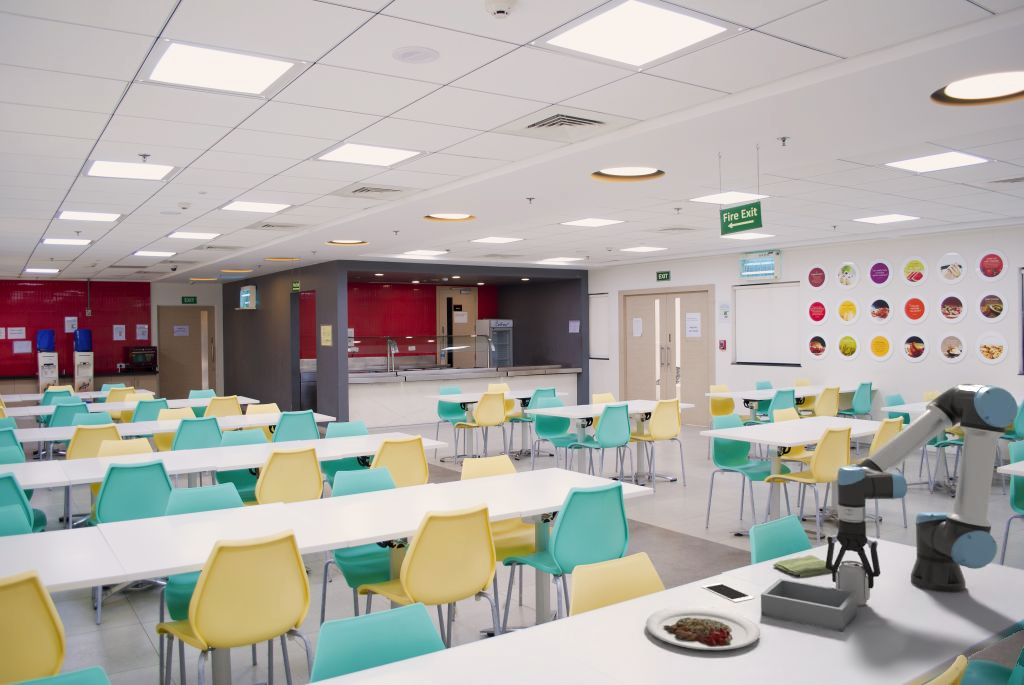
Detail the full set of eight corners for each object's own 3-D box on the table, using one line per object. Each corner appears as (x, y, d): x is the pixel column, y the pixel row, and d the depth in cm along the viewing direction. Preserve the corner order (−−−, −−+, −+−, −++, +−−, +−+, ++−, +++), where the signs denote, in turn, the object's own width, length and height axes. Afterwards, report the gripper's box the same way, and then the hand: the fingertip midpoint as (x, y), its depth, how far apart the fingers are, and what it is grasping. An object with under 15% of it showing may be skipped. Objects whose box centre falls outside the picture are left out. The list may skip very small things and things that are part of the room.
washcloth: (771, 568, 259) (770, 559, 259) (812, 562, 265) (811, 553, 265) (797, 579, 246) (797, 569, 246) (839, 573, 252) (839, 563, 252)
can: (869, 608, 219) (869, 567, 219) (842, 606, 220) (841, 566, 220) (863, 599, 226) (862, 559, 226) (836, 598, 227) (836, 558, 227)
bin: (857, 613, 215) (857, 592, 215) (842, 632, 201) (842, 610, 201) (780, 598, 228) (779, 578, 228) (761, 615, 215) (760, 594, 215)
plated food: (684, 605, 224) (684, 593, 224) (780, 631, 203) (780, 619, 203) (624, 633, 203) (623, 621, 203) (723, 666, 182) (723, 653, 182)
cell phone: (735, 603, 225) (735, 601, 225) (700, 588, 240) (700, 586, 240) (755, 599, 228) (755, 597, 228) (720, 584, 243) (720, 582, 243)
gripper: (812, 517, 226) (813, 592, 226) (886, 526, 214) (887, 606, 214) (819, 512, 232) (820, 586, 232) (891, 521, 220) (893, 598, 220)
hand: (852, 595), depth 223 cm, fingers closed on can, 7 cm apart
